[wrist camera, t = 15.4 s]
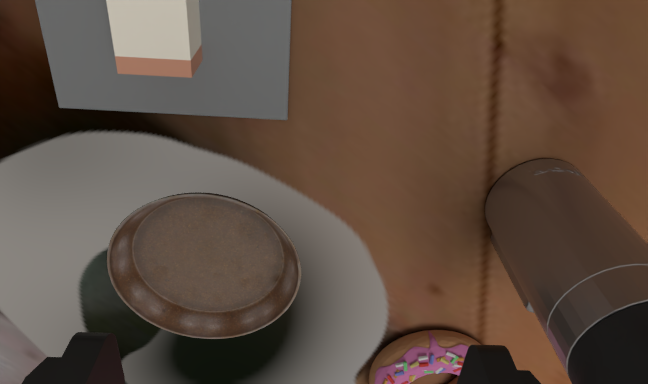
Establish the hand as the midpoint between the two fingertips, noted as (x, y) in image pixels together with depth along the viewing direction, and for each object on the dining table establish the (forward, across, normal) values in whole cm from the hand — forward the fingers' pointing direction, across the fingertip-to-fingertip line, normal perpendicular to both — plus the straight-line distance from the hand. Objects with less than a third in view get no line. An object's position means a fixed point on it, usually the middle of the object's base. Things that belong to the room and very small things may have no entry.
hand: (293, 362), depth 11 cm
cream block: (+30, +10, -2) cm, 31 cm away
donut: (+30, -16, +37) cm, 51 cm away
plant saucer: (+31, +8, +22) cm, 39 cm away
